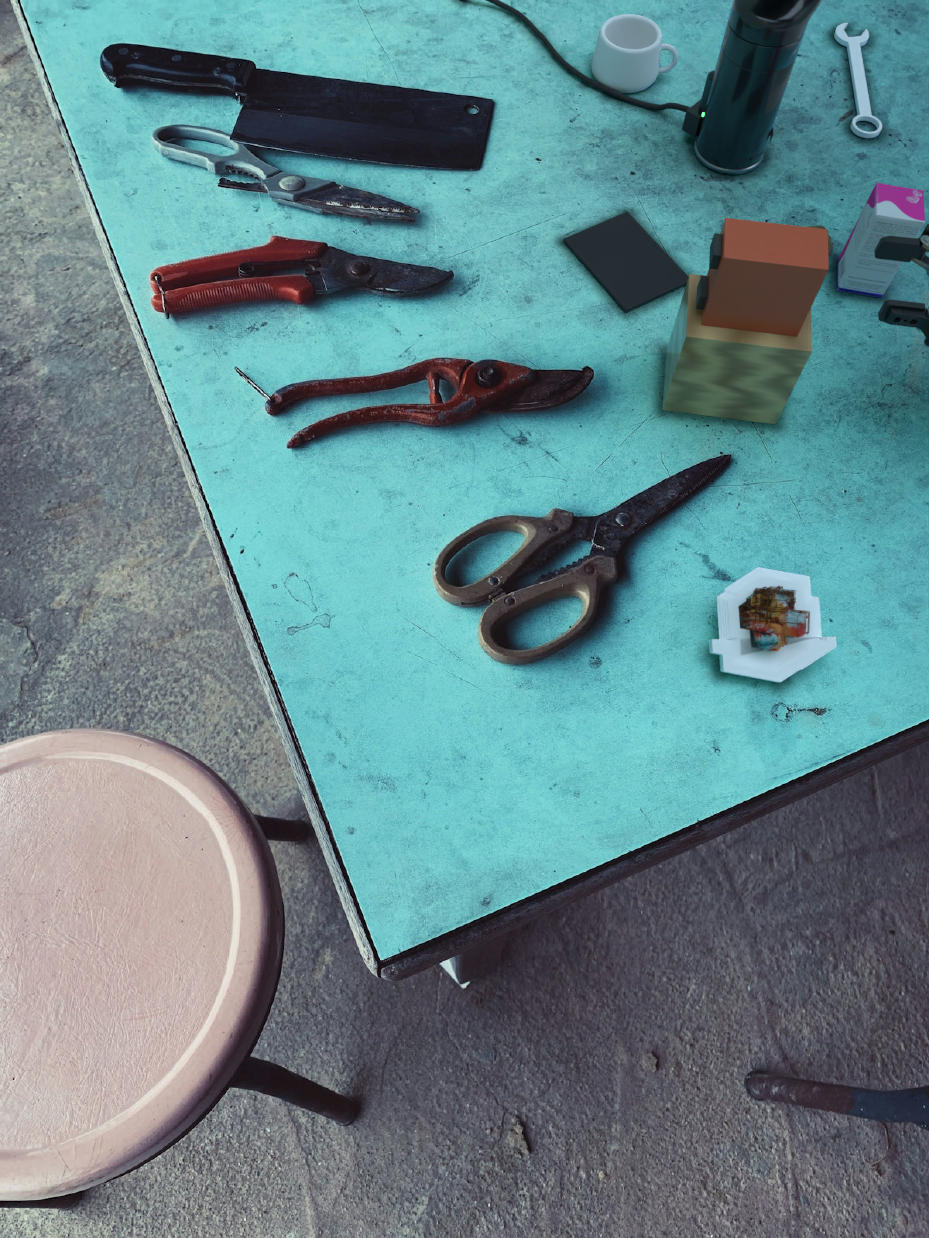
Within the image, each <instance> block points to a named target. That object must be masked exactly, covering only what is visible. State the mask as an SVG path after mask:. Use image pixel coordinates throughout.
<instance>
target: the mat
mask: <svg viewBox="0 0 929 1238" xmlns="http://www.w3.org/2000/svg"><path fill="white" fill-rule="evenodd" d="M562 242H563V243H564V245H565V246H566V247H567V248H568V249H569V250H570V251H571V253H572V254H573V255H574V257H576V259H578V261H580V263H582V265H583V266H584V267H585V269H586V270H587V271H588V272H589V273H590V275H592V277H593V278H594V279H595V280H596V281H597V282H598V283H599V285H600V286H601V287H602V288H603V289H604V290H605V292H607V294H608V295H609V296H610V297H611V298H612V299H613V300H614V302H615V303H616V304H617V305H618V306H619V307H620V309H621V310H622V311H623V312H624V313H626V314H627V313H629V312H630V311H633V310H635V309H637V308H639V307H642V306H644V305H646V304H648V303H651V302H652V301H655V300H657V299H659V298H661V297H663V296H665V295H668V294H670V293H672V292H674V291H676V290H679V289H681V288H683V287H686V284H687V280H688V277H689V275H688V274H687V273H686V272H685V271H684V270H683V269H682V268H681V267H680V266H679V265H678V263H676V262H675V260H674V259H672V258H671V255H669V254H668V253H667V251H665V250H664V249H663V248H662V247H661V246H660V244H659V243H658V242H657V241H656V240H655V239H654V238H653V237H652V236H651V235H650V234H649V233H648V231H646V230H645V229H644V227H643V226H642V225H641V224H640V223H639V222H638V221H637V220H636V219H635V218H634V217H633V216H632V215H631V214H630V212H628V211H625V212H623V213H621V214H618V215H615V216H613V217H611V218H608V219H606V220H604V221H601V222H599V223H597V224H595V225H592V226H589V227H588V228H586V229H583V230H581V231H578V232H576V233H574V234H571V235H569V236H565V238H563V239H562Z"/></svg>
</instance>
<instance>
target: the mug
mask: <svg viewBox="0 0 929 1238" xmlns="http://www.w3.org/2000/svg"><path fill="white" fill-rule="evenodd" d="M662 51H668V52H669V53H671V56H672V60H671V61H670V63H669V64H668V65H666V66H661V55H662ZM678 62H679V51H678V49H677V48H676V46H674V45H672V44H670V43H663V33H662V30H661V28H660V26H659V24H657V23H656V21H654V20H652V19H651V18H649V17H646V16H643V15H639V14H634V13H622V14H617V15H613V16H610V18H607V19H605V21H604V22H603V23H602V24H601V27H600V29H599V32H598V36H597V38H596V43H595V47H594V51H593V55H592V59H591V73H592V76H593V78H594V79H595V81H596V82H598V83H600V84H602V85H604V86H607V87H609V88H611V89H613V90H615V91H617V92H620V93H622V94H631V93H638V92H642V91H644V90H646V89H648V88H649V87H650V86H652V85H653V83H655V81H657V78H658V75H659V74H661V75H662V74H666V73H669V72H671V71H672V70H673V69H674V68H675V67H676V66H677V65H678Z"/></svg>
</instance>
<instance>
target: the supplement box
mask: <svg viewBox="0 0 929 1238" xmlns="http://www.w3.org/2000/svg"><path fill="white" fill-rule="evenodd" d="M925 212H926V211H925V191H924V190H922V189H917V188H910V187H904V186H899V185H892V184H887V183H881V182H876V183H875V185H874V186H873V189H872V190H871V192H870V194H869V196H868V198H867V201H866V202H865V205H864V207H863V208H862V211H861V213H860V214H859V216H858V219H857V220H856V223H855V225H854V226H853V229H852V231H851V233H850V235H849V237H848V239H847V240H846V242H845V244H844V246H843V249H842V251H841V252H840V255H839V256H838V258H837V266H836V267H837V268H836V291H837V292H842V293H848V294H854V295H855V294H856V295H861V296H868V297H873V298H879V299H880V298H883V296H884V295H885V293H886V291H887V290H888V288H889V286H890V284H891V283H892V281H893V279H894V277H895V276H896V274H897V272H898V270H899V269H900V267H901V265H902V264H903V262H901V261H892V260H884V259H877V258H875V253H874V250H875V248H876V246H877V244H878V242H879V240H880V239H881V238H882V237H886V236H896V237H897V236H899V237H907V238H918V236H919V234H920V232H921V231H922V229H923V227H924V226H925V223H926V216H925V215H926V213H925Z"/></svg>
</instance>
